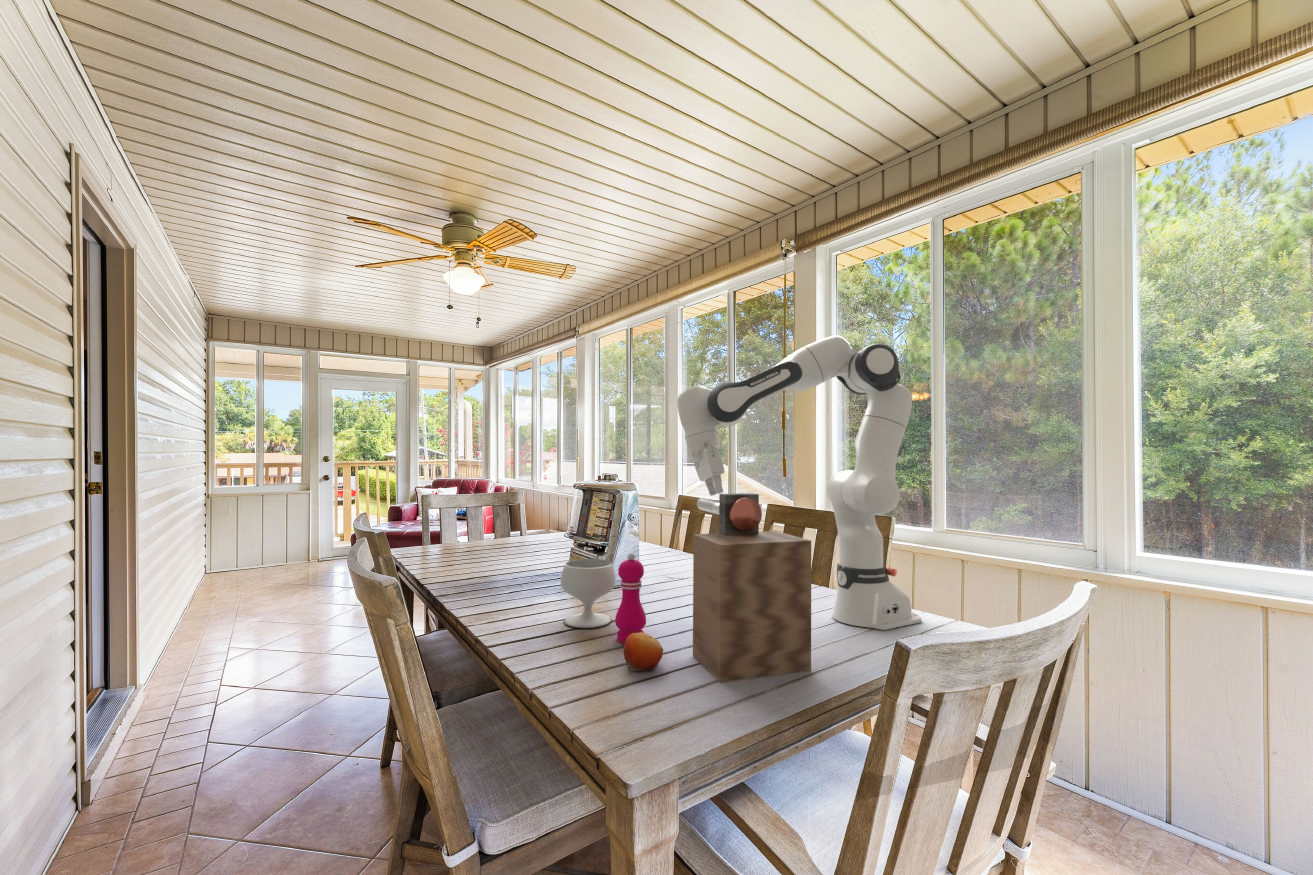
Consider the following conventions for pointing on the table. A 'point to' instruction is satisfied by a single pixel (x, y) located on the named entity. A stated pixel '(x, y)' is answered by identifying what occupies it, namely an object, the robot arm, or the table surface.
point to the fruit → (642, 652)
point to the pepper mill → (630, 599)
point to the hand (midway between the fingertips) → (716, 494)
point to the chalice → (588, 589)
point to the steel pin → (736, 512)
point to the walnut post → (751, 600)
